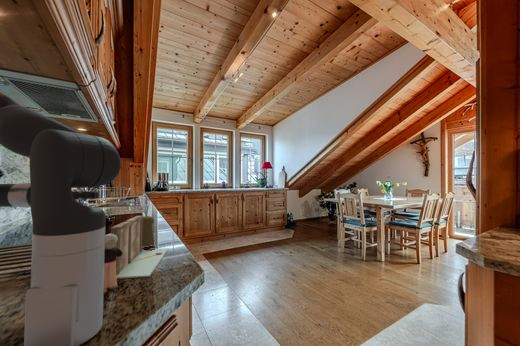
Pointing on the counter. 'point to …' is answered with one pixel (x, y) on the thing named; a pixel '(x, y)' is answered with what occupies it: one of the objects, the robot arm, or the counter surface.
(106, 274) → the grandmother figurine
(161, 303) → the counter surface
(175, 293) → the counter surface
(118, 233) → the panel
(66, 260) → the robot arm
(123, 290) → the counter surface
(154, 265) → the board
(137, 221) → the fence panel
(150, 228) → the olive grey cylinder
